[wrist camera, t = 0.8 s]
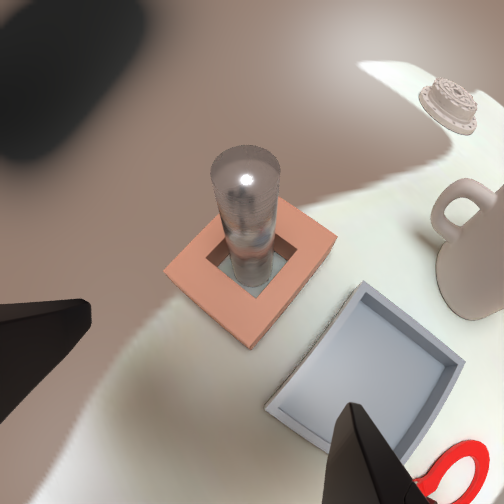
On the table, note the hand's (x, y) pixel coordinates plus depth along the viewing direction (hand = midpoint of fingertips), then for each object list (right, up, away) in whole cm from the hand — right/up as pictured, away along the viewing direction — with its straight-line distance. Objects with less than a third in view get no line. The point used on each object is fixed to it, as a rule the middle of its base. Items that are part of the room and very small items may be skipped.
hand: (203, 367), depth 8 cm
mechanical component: (+31, +24, +24) cm, 46 cm away
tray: (+10, -7, +11) cm, 16 cm away
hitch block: (+2, +2, +15) cm, 15 cm away
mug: (+21, +2, +15) cm, 25 cm away
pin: (+2, +2, +15) cm, 15 cm away
